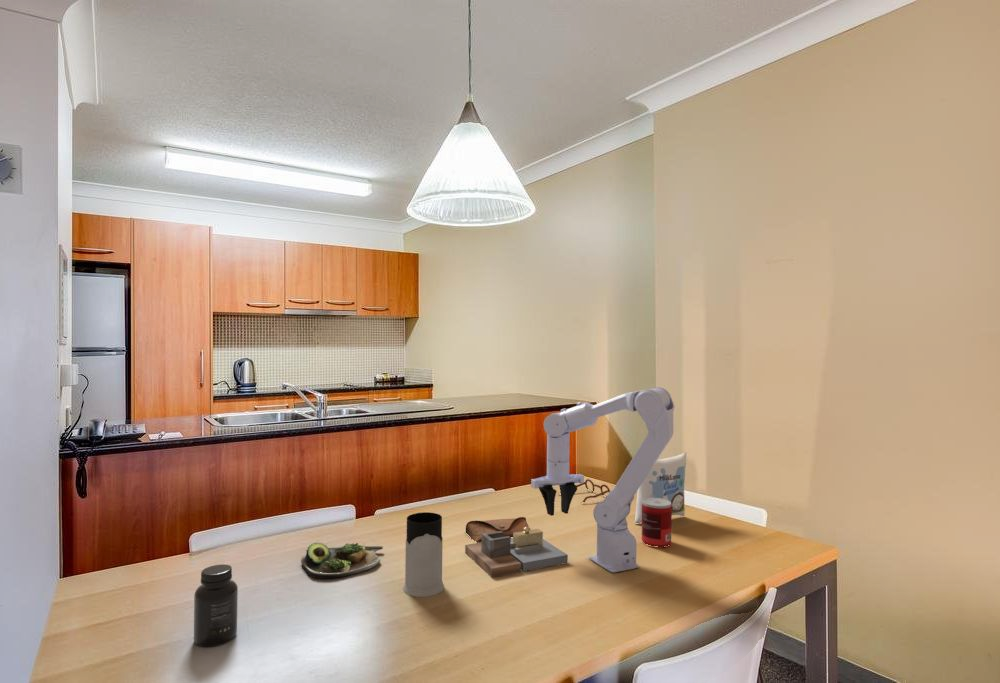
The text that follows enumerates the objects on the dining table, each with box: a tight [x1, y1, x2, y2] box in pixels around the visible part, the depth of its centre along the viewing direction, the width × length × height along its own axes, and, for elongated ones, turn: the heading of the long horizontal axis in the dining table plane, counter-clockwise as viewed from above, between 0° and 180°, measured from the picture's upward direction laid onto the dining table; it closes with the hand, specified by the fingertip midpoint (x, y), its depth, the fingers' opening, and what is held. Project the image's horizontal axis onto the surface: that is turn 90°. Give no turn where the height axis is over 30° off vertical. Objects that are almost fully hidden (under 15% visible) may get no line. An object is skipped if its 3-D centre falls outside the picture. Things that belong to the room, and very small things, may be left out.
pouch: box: [634, 451, 687, 524], centre depth 165 cm, size 8×19×20 cm, turn 112°
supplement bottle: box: [193, 563, 239, 648], centre depth 98 cm, size 7×7×12 cm
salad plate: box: [300, 542, 384, 580], centre depth 132 cm, size 19×18×5 cm
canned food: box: [641, 498, 673, 547], centre depth 147 cm, size 8×8×11 cm
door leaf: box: [510, 538, 569, 572], centre depth 137 cm, size 16×12×3 cm
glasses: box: [559, 478, 611, 503], centre depth 191 cm, size 13×13×5 cm
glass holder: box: [402, 511, 445, 598], centre depth 121 cm, size 9×14×15 cm, turn 15°
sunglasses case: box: [465, 516, 531, 543], centre depth 152 cm, size 18×7×7 cm
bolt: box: [513, 526, 544, 548], centre depth 137 cm, size 2×7×5 cm, turn 115°
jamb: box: [464, 531, 522, 578], centre depth 133 cm, size 16×7×6 cm, turn 25°
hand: (557, 513), depth 141 cm, fingers open, 4 cm apart
